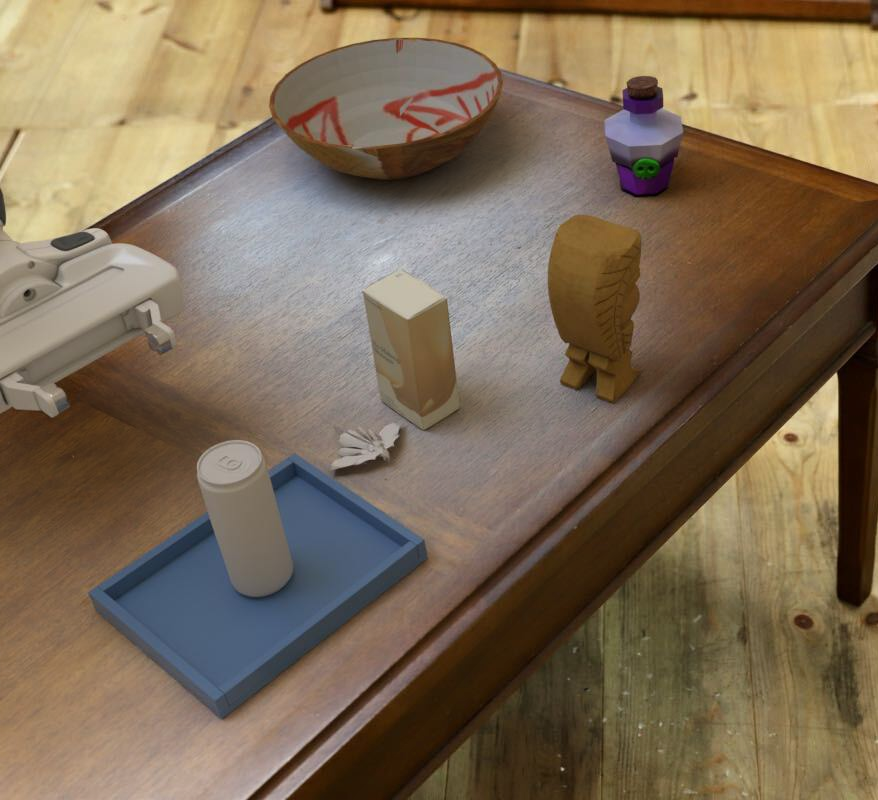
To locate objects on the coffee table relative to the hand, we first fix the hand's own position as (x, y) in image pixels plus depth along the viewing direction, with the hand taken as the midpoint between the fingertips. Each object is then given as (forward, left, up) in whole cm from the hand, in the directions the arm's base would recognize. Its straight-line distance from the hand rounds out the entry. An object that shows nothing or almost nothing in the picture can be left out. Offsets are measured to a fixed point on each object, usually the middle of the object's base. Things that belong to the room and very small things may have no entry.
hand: (115, 373), depth 102 cm
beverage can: (0, -13, -14) cm, 19 cm away
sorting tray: (0, -13, -14) cm, 19 cm away
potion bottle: (+62, +1, -14) cm, 64 cm away
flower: (+15, -7, -14) cm, 22 cm away
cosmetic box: (+22, -7, -14) cm, 27 cm away
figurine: (+34, -17, -14) cm, 41 cm away
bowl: (+50, +27, -14) cm, 59 cm away
